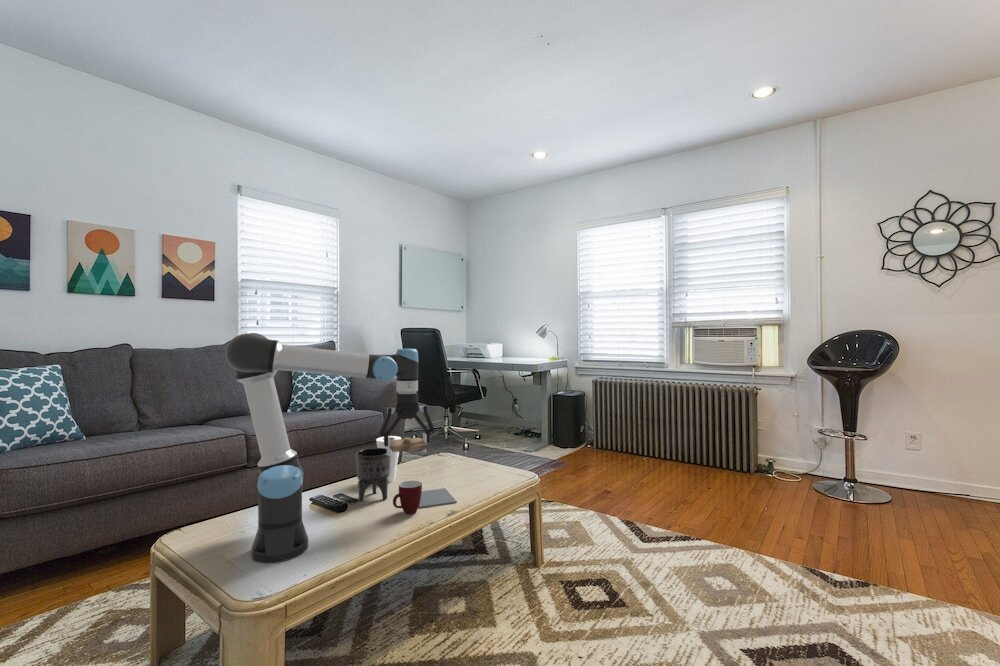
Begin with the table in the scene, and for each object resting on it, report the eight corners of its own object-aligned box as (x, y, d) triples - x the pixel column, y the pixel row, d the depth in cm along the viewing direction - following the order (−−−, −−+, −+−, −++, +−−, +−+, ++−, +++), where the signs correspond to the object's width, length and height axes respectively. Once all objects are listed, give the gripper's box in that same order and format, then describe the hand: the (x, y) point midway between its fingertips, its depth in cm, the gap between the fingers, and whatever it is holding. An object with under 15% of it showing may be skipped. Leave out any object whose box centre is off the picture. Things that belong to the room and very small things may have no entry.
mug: (400, 520, 157) (400, 491, 157) (388, 514, 163) (388, 485, 163) (426, 512, 164) (426, 484, 164) (413, 506, 170) (413, 479, 170)
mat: (419, 508, 168) (419, 506, 168) (410, 494, 183) (410, 492, 183) (456, 502, 173) (456, 501, 173) (444, 489, 188) (444, 488, 188)
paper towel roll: (371, 481, 199) (370, 439, 199) (390, 475, 207) (389, 435, 207) (387, 486, 193) (387, 442, 193) (406, 479, 201) (406, 438, 201)
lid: (392, 452, 155) (392, 443, 155) (386, 444, 166) (386, 436, 166) (427, 448, 160) (427, 440, 160) (419, 441, 171) (419, 433, 171)
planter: (365, 506, 170) (364, 458, 170) (350, 497, 180) (350, 451, 180) (396, 498, 178) (396, 452, 178) (381, 489, 188) (380, 446, 188)
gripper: (373, 395, 155) (372, 459, 155) (443, 392, 164) (443, 452, 164) (370, 392, 162) (370, 454, 162) (437, 389, 171) (437, 448, 171)
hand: (406, 453), depth 163 cm, fingers closed on lid, 12 cm apart
